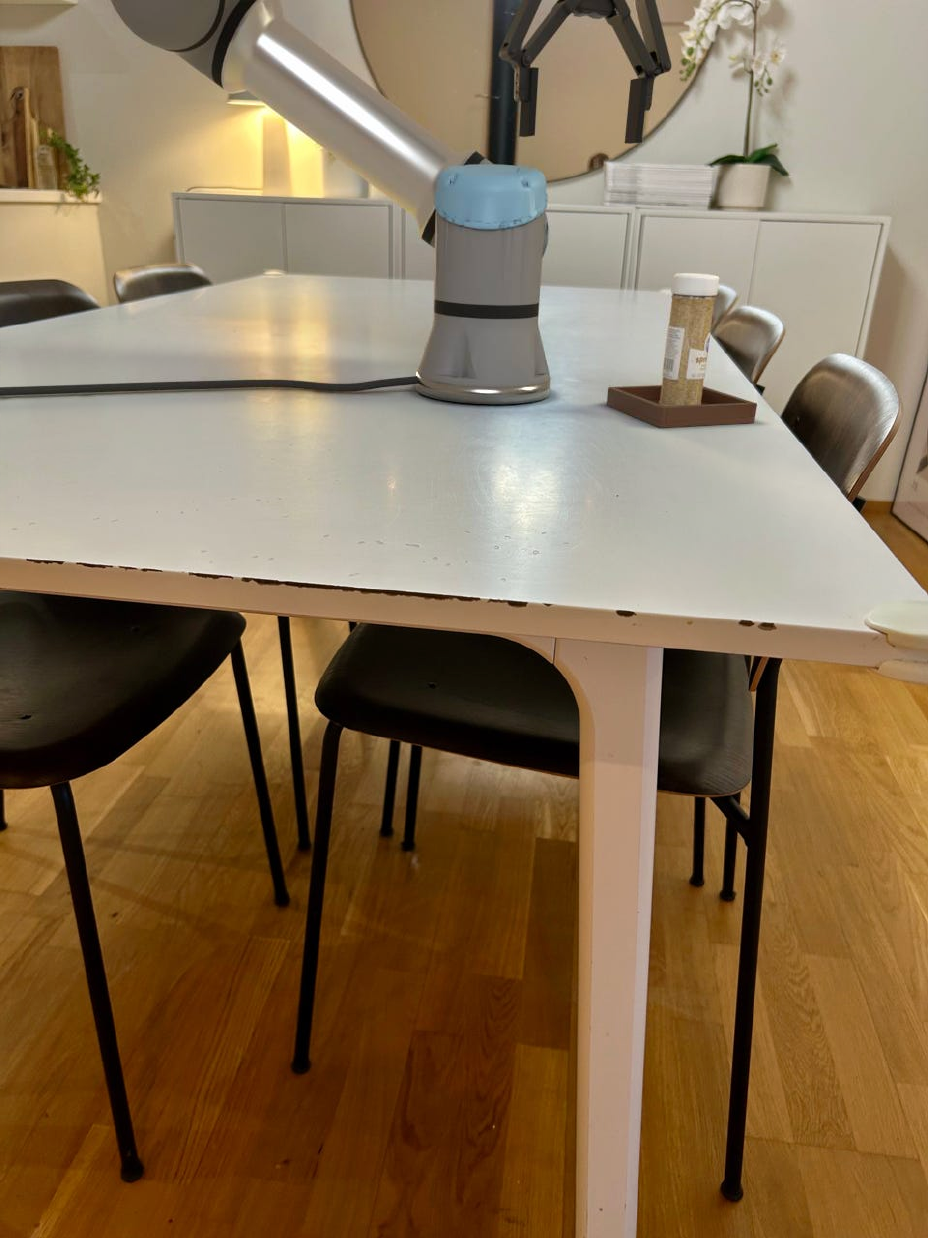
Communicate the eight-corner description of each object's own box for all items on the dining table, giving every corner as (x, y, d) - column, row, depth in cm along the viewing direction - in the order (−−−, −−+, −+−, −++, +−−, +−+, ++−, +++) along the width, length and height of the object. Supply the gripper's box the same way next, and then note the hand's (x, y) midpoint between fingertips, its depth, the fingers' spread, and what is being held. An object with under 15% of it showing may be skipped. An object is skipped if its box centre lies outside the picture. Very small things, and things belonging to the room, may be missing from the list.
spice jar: (703, 414, 93) (723, 276, 88) (659, 412, 94) (676, 274, 88) (697, 406, 98) (716, 273, 92) (655, 403, 98) (670, 271, 92)
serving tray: (659, 427, 89) (662, 407, 89) (606, 405, 99) (608, 386, 98) (754, 422, 93) (757, 403, 92) (693, 401, 103) (696, 383, 102)
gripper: (681, -65, 102) (658, 146, 111) (475, -97, 94) (467, 134, 103) (719, -82, 96) (692, 143, 104) (502, -118, 87) (492, 130, 96)
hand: (581, 139), depth 104 cm, fingers open, 13 cm apart
